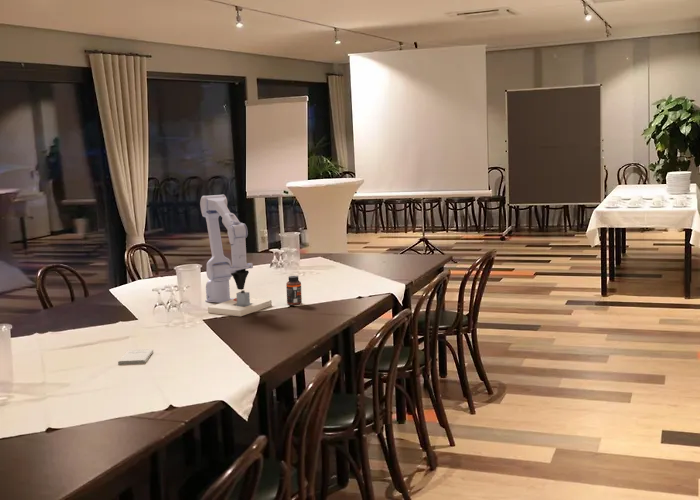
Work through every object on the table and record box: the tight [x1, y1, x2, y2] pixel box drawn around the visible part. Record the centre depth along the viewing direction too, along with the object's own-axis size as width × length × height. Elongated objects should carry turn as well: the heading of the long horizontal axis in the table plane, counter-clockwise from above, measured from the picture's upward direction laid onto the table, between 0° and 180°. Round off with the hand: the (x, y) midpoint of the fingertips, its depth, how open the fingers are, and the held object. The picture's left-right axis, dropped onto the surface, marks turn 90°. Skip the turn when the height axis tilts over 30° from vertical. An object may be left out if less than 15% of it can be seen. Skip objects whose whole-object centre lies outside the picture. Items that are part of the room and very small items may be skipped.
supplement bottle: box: [285, 275, 303, 306], centre depth 311 cm, size 6×6×11 cm
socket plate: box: [207, 297, 272, 317], centre depth 306 cm, size 16×20×3 cm
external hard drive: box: [117, 348, 154, 366], centre depth 242 cm, size 2×8×12 cm
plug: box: [236, 289, 251, 307], centre depth 303 cm, size 4×3×8 cm
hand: (240, 289), depth 303 cm, fingers closed
